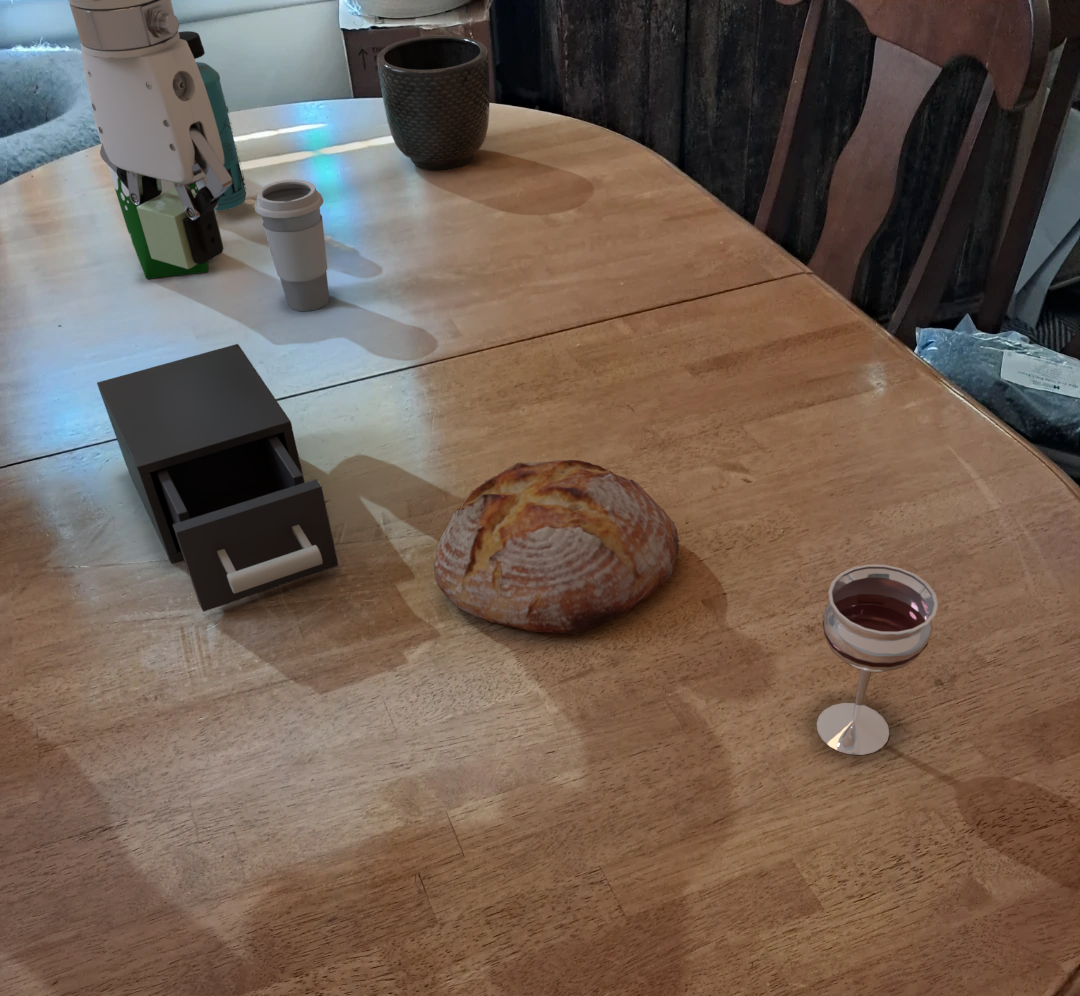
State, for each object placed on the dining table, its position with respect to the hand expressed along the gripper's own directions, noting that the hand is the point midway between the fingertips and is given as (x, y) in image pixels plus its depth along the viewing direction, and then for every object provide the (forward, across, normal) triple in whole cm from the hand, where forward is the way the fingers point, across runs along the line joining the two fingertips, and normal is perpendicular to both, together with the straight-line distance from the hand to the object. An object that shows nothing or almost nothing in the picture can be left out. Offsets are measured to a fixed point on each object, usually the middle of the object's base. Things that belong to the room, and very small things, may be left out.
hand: (186, 249), depth 103 cm
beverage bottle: (+15, +31, -33) cm, 48 cm away
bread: (+15, -43, +7) cm, 46 cm away
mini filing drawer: (+14, -20, +18) cm, 31 cm away
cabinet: (+15, -10, +12) cm, 22 cm away
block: (0, 0, 0) cm, 0 cm away
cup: (+15, +6, -20) cm, 26 cm away
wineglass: (+15, -70, +11) cm, 72 cm away
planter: (+15, +16, -59) cm, 63 cm away
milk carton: (+15, +26, -20) cm, 36 cm away
